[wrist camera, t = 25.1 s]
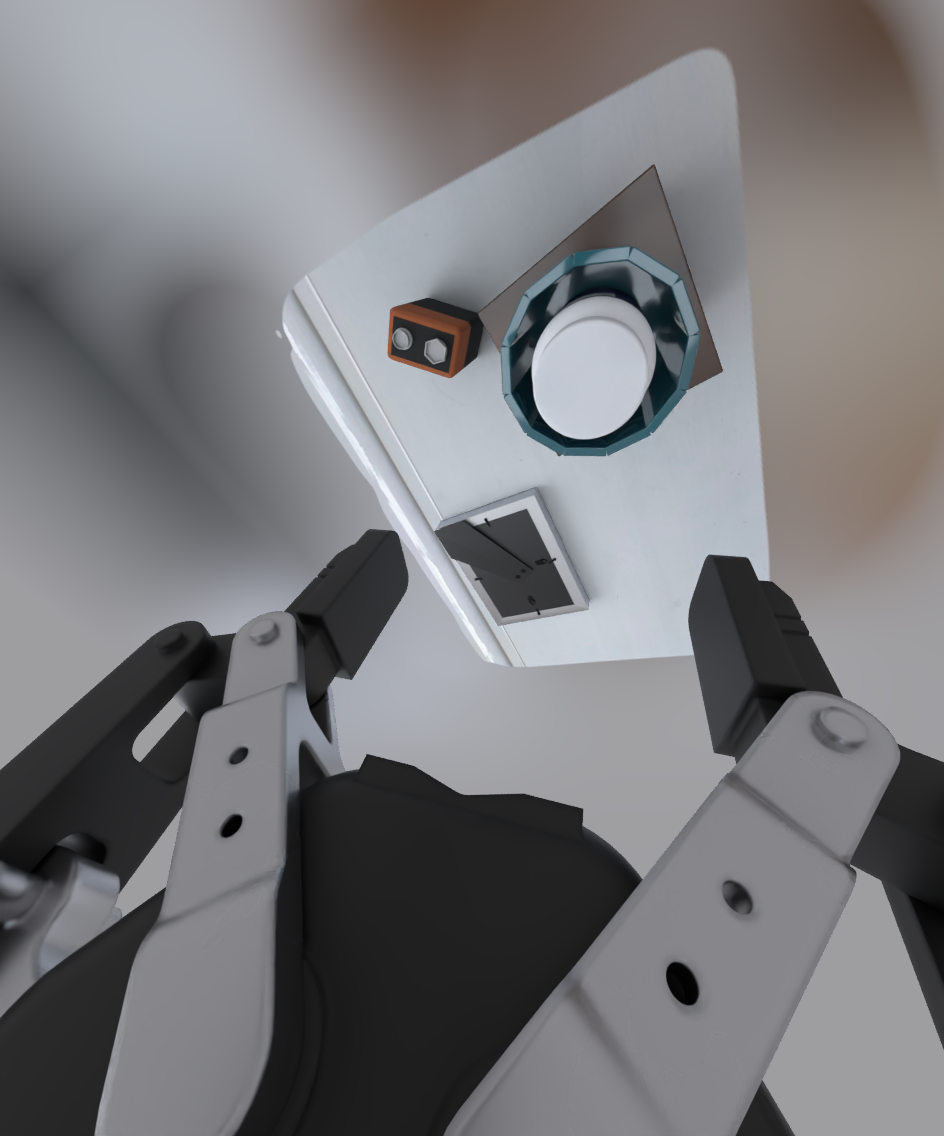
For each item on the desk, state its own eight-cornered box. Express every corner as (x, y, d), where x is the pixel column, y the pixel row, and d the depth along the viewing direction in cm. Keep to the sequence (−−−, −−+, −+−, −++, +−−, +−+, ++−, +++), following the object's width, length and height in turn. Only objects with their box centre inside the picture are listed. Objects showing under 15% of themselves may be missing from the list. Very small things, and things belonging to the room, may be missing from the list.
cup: (498, 318, 25) (467, 337, 20) (641, 202, 20) (652, 186, 15) (564, 439, 28) (553, 482, 23) (699, 366, 23) (724, 400, 18)
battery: (477, 359, 43) (449, 383, 36) (420, 341, 44) (381, 360, 36) (486, 315, 40) (458, 330, 33) (425, 295, 41) (384, 306, 33)
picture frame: (440, 521, 59) (500, 617, 68) (434, 531, 57) (497, 629, 66) (536, 487, 51) (589, 600, 60) (533, 497, 49) (588, 613, 58)
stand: (524, 290, 38) (476, 313, 25) (637, 197, 32) (654, 163, 19) (575, 391, 43) (558, 457, 29) (683, 326, 37) (723, 371, 23)
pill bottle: (651, 375, 24) (669, 433, 16) (560, 404, 26) (539, 465, 19) (639, 265, 21) (654, 275, 14) (537, 309, 23) (502, 338, 16)
